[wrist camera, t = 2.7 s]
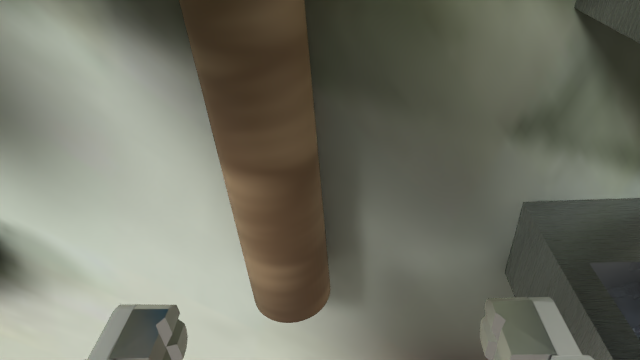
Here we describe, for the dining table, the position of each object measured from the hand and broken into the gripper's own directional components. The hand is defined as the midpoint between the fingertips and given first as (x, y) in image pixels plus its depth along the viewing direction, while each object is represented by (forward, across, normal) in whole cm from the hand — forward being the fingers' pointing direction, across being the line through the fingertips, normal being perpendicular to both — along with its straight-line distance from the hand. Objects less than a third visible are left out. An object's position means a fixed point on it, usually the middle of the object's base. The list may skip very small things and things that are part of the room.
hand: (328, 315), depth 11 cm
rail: (+8, +1, -1) cm, 8 cm away
